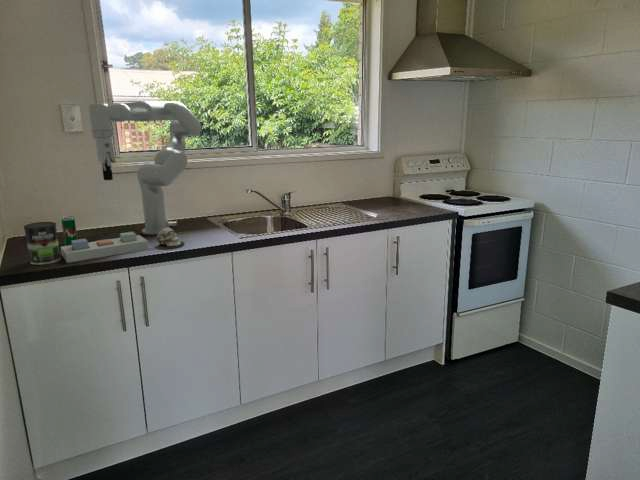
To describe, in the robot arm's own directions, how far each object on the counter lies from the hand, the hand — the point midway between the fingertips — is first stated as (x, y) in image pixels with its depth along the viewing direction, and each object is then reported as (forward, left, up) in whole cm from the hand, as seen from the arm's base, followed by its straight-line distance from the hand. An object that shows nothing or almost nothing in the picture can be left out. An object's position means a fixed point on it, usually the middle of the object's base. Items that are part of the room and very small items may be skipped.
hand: (108, 179), depth 193 cm
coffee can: (+28, +11, -27) cm, 41 cm away
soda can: (+16, -8, -27) cm, 33 cm away
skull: (-17, +19, -28) cm, 37 cm away
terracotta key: (+7, +13, -27) cm, 30 cm away
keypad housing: (+7, +13, -27) cm, 31 cm away
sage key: (-2, +13, -25) cm, 28 cm away
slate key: (+16, +13, -25) cm, 32 cm away
